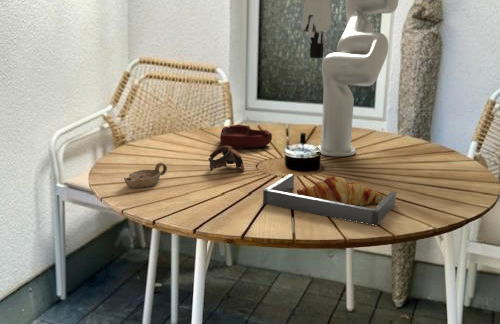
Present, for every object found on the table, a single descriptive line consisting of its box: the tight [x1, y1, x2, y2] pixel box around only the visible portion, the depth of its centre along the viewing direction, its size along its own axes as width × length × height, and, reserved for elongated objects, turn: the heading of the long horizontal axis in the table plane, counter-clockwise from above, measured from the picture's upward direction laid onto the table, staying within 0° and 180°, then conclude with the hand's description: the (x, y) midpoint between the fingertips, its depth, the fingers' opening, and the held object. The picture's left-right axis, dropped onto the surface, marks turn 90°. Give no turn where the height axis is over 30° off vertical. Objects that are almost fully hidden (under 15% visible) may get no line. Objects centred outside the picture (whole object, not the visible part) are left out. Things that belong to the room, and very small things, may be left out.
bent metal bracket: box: [262, 173, 397, 226], centre depth 143 cm, size 15×28×4 cm, turn 61°
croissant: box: [296, 176, 384, 207], centre depth 145 cm, size 21×10×8 cm, turn 89°
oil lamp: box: [123, 162, 168, 189], centre depth 156 cm, size 13×8×5 cm, turn 133°
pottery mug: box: [208, 146, 245, 173], centre depth 170 cm, size 12×10×8 cm
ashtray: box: [219, 124, 273, 150], centre depth 197 cm, size 18×16×5 cm
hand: (316, 57), depth 165 cm, fingers closed
